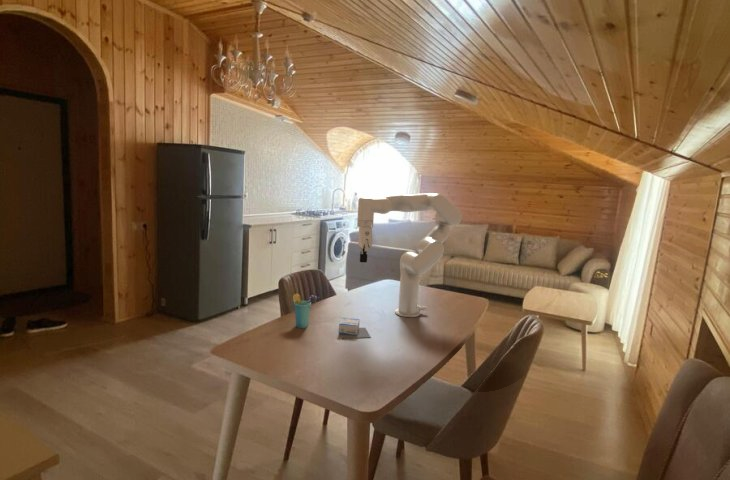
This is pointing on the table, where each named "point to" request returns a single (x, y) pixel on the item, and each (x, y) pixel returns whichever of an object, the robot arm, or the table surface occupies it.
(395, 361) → the table surface
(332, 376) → the table surface
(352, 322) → the medicine box
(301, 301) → the cup
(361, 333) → the mat
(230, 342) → the table surface
